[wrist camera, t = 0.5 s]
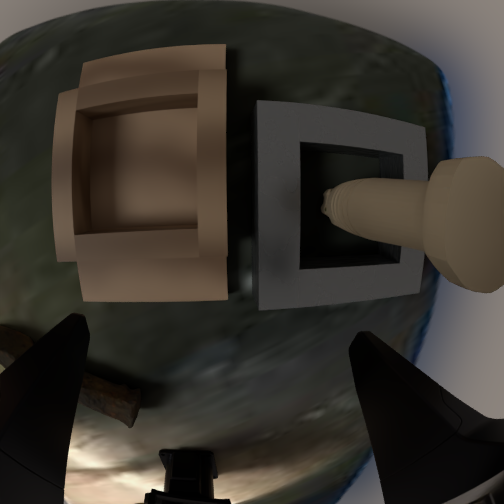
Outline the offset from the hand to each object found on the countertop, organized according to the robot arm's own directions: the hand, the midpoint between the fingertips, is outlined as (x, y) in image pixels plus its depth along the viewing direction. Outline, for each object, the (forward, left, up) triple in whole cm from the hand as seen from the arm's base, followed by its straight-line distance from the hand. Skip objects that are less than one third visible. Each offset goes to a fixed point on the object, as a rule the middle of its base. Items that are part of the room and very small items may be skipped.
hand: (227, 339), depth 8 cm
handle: (+4, -9, -14) cm, 17 cm away
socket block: (+4, -9, -13) cm, 17 cm away
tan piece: (+7, +6, -13) cm, 16 cm away
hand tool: (-11, +18, -14) cm, 25 cm away
